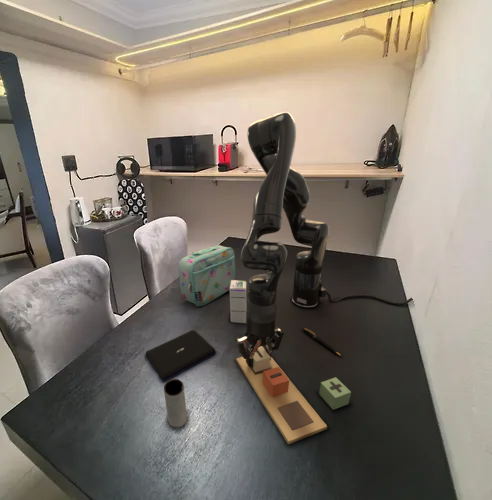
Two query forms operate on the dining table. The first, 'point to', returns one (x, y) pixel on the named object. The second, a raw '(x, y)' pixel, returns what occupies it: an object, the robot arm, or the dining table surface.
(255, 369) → the cream slotted cube
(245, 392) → the dining table surface
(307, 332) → the fountain pen
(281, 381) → the orange slotted cube
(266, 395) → the wood board
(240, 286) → the syrup box
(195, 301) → the lunch box
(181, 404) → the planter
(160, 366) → the laptop
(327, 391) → the green plus block
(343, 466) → the dining table surface
